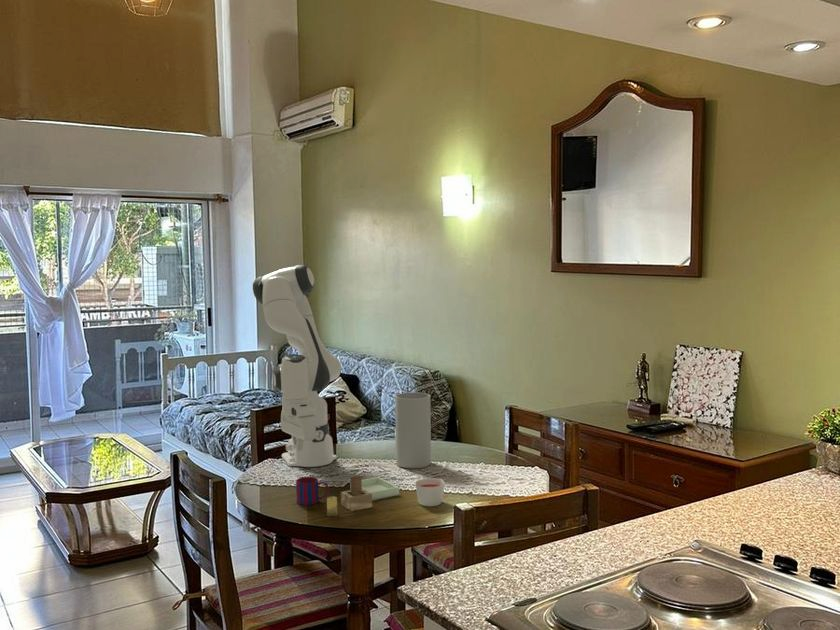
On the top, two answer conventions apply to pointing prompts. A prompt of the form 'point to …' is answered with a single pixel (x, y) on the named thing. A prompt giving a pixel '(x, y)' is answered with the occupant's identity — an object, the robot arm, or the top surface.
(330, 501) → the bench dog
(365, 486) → the tray
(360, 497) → the socket block
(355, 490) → the dowel
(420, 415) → the cylinder vase
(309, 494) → the mug
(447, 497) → the top surface
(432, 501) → the candle
